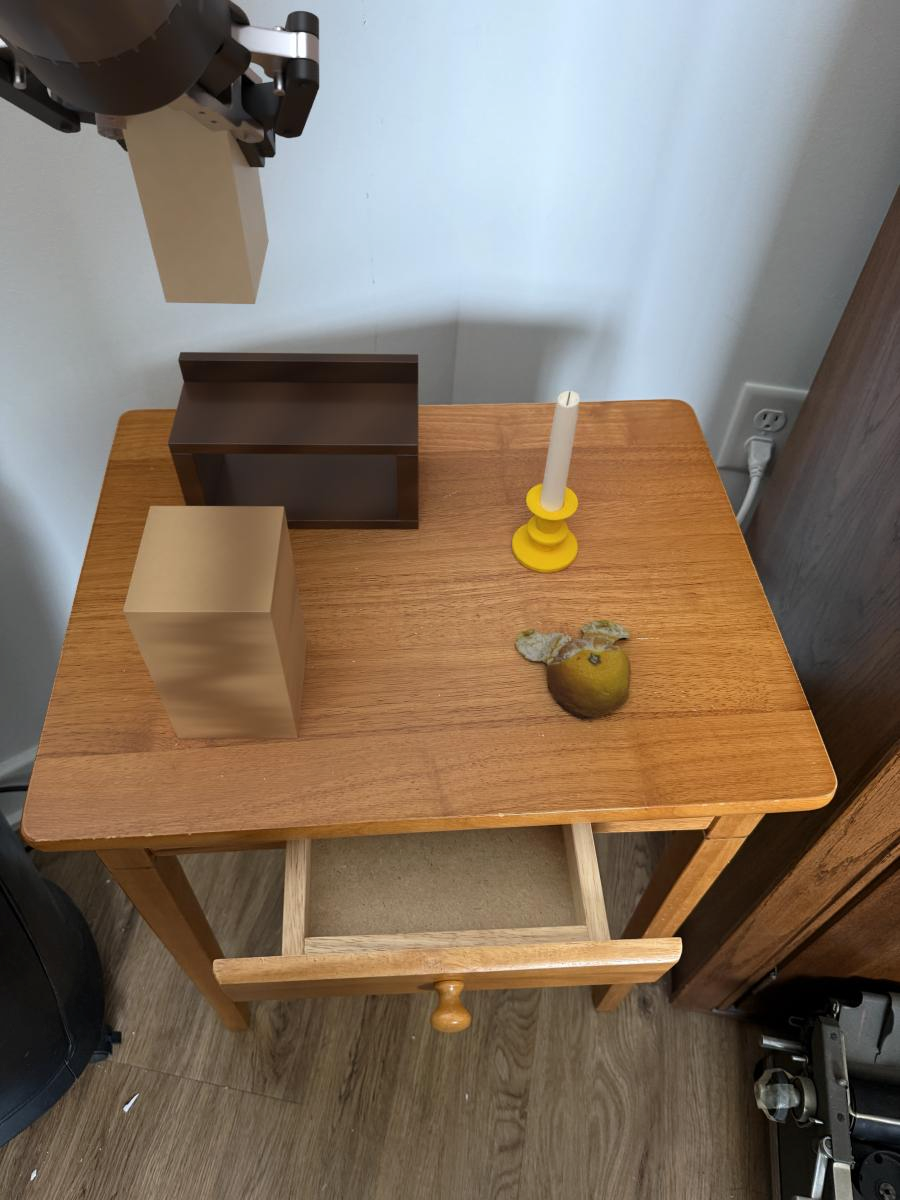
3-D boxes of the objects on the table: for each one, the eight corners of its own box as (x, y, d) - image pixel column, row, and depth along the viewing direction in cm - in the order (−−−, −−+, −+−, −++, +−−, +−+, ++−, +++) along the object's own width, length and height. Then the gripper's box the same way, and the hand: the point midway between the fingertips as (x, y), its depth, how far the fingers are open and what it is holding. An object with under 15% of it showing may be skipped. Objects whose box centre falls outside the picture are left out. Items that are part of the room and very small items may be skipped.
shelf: (192, 528, 71) (160, 421, 62) (207, 459, 76) (180, 351, 67) (418, 529, 72) (418, 423, 63) (418, 460, 76) (418, 354, 68)
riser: (177, 739, 59) (122, 611, 48) (196, 641, 64) (149, 505, 53) (298, 738, 60) (270, 611, 49) (307, 641, 64) (284, 505, 53)
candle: (539, 583, 68) (565, 428, 56) (498, 541, 71) (514, 384, 59) (590, 554, 70) (626, 398, 58) (548, 515, 73) (574, 357, 61)
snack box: (165, 303, 45) (112, 91, 37) (186, 239, 49) (141, 34, 41) (255, 304, 45) (220, 94, 37) (268, 241, 49) (240, 37, 41)
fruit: (618, 618, 66) (626, 587, 64) (657, 712, 62) (668, 683, 59) (511, 635, 65) (515, 605, 62) (542, 733, 60) (548, 704, 57)
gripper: (303, -204, 26) (350, 68, 43) (-187, -222, 26) (54, 60, 43) (305, 64, 27) (351, 228, 44) (-169, 51, 27) (60, 222, 44)
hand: (204, 145), depth 44 cm, fingers closed on snack box, 4 cm apart
